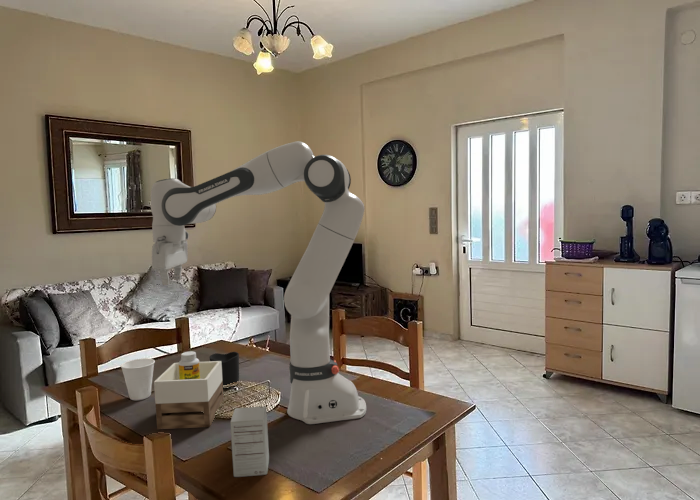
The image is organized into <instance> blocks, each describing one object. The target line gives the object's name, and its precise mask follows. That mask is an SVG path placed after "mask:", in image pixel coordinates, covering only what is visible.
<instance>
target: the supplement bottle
mask: <svg viewBox="0 0 700 500" xmlns="http://www.w3.org/2000/svg"><path fill="white" fill-rule="evenodd" d="M180 357H181V358H180V360H179V362H178V363H179V380H186V379H200V365H199V362H200V359H199V358H197V352H196V351H192V350H191V351H183V353H181V355H180Z"/></svg>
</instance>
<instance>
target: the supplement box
mask: <svg viewBox="0 0 700 500" xmlns="http://www.w3.org/2000/svg"><path fill="white" fill-rule="evenodd" d="M267 414H268V412H267V406H265V405H264V406H248V407H237V408H234V410H233V413H232V416H231V419H230V437H231V439H230V440H231V441H230V442H231V454H232V455H231V457H232V469H233V477H234V478H241V477H253V476H255V477H256V476H264V475H265V476H267V474H268V471H269V464H270V451H269V447H270V446H269V433H268V432H269V431H268V415H267Z"/></svg>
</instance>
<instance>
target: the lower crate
mask: <svg viewBox="0 0 700 500" xmlns="http://www.w3.org/2000/svg"><path fill="white" fill-rule="evenodd" d="M223 399H224V389H223V381H222V382H221V384H220V385H219V387H218V388H217V390H216V391H215V393H214V394H213V396H212V397H211V399H210V400H209V402H187V403H163V404H155V416H156V417H155V418H156V430H169V429H171V430H173V429H190V428H191V429H192V428H193V429H194V428H211V426H212V424H213V423H214V421H215V419H216V418H215V412H216V411H217V409H218V408H219V406H220V404H221V402H222V401H223ZM224 400H225V399H224ZM201 411H204V413H203V412H201ZM214 418H215V419H214ZM213 420H214V421H213ZM212 422H213V423H212Z"/></svg>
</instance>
